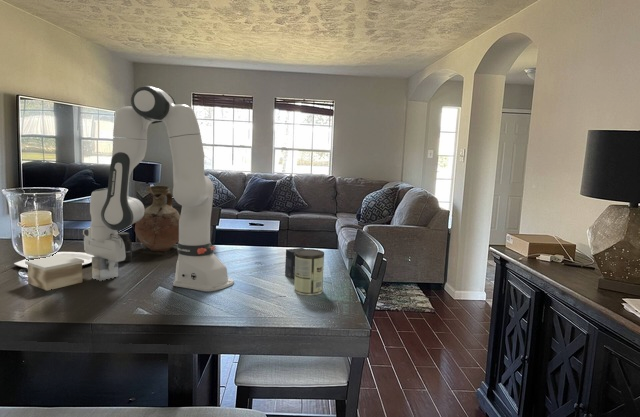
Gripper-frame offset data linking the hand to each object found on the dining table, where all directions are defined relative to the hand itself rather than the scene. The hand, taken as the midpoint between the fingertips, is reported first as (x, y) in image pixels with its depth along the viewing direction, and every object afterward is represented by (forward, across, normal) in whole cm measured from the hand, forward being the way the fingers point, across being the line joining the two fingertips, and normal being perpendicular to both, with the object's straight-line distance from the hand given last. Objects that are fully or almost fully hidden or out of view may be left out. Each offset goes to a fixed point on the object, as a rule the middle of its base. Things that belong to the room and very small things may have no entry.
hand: (105, 269), depth 160 cm
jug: (+3, +23, -42) cm, 48 cm away
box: (+3, -53, -47) cm, 71 cm away
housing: (+3, 0, 0) cm, 3 cm away
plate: (+4, +31, 0) cm, 31 cm away
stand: (+3, +7, +14) cm, 16 cm away
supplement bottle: (+3, +16, -18) cm, 24 cm away
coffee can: (+3, -67, -34) cm, 75 cm away
